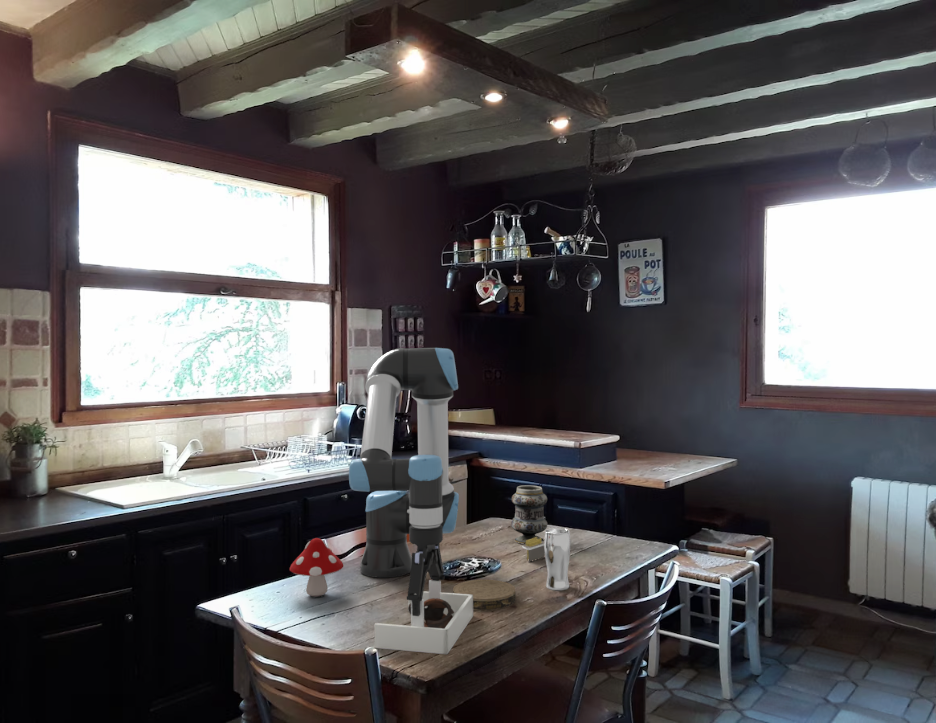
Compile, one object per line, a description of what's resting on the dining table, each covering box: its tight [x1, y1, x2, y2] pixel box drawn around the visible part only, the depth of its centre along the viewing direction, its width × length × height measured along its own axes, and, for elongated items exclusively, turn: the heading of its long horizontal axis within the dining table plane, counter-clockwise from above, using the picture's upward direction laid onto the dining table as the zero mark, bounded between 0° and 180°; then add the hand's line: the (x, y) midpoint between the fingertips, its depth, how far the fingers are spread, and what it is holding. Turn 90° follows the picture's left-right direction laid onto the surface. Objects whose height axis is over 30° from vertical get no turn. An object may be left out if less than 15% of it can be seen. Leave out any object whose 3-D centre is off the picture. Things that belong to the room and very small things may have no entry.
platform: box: [521, 537, 545, 563], centre depth 227 cm, size 12×18×7 cm, turn 138°
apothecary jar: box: [510, 485, 548, 545], centre depth 249 cm, size 12×12×18 cm
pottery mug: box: [407, 598, 454, 629], centre depth 169 cm, size 12×10×8 cm
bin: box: [374, 591, 474, 655], centre depth 168 cm, size 24×16×5 cm
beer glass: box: [544, 527, 571, 591], centre depth 200 cm, size 7×7×15 cm
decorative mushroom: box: [289, 537, 344, 597], centre depth 194 cm, size 14×14×15 cm
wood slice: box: [452, 579, 516, 611], centre depth 190 cm, size 16×16×3 cm
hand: (426, 618), depth 168 cm, fingers open, 13 cm apart
